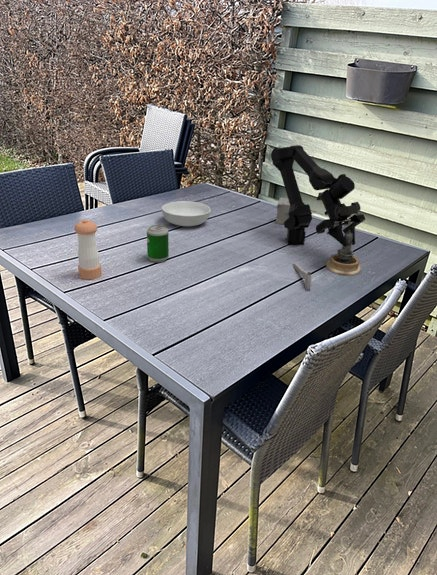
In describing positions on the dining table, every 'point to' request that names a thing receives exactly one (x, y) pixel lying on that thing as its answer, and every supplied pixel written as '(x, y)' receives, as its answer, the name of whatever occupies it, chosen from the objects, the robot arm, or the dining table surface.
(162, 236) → the soda can
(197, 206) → the serving bowl
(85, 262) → the pepper shaker
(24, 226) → the dining table surface
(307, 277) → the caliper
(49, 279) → the dining table surface
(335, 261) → the dish
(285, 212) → the incense holder
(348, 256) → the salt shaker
